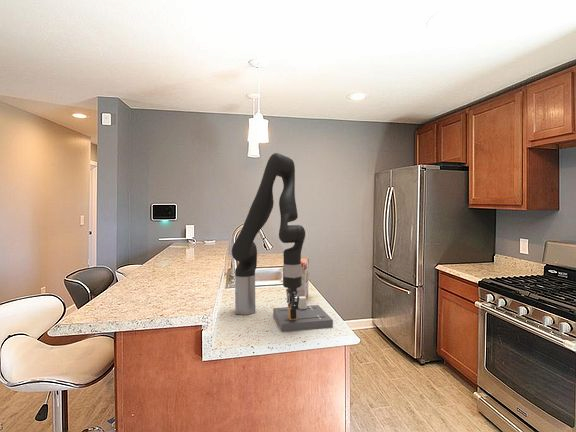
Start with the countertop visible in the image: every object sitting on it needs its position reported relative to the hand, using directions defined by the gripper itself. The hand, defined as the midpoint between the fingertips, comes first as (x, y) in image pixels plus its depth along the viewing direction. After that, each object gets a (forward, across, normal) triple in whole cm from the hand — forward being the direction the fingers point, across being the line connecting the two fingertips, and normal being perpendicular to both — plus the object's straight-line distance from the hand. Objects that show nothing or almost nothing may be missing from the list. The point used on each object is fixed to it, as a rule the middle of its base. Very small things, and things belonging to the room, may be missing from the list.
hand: (292, 316), depth 130 cm
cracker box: (+4, -35, +13) cm, 37 cm away
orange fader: (+1, 0, 0) cm, 1 cm away
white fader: (+1, -12, +7) cm, 14 cm away
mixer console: (+4, -6, +5) cm, 9 cm away
